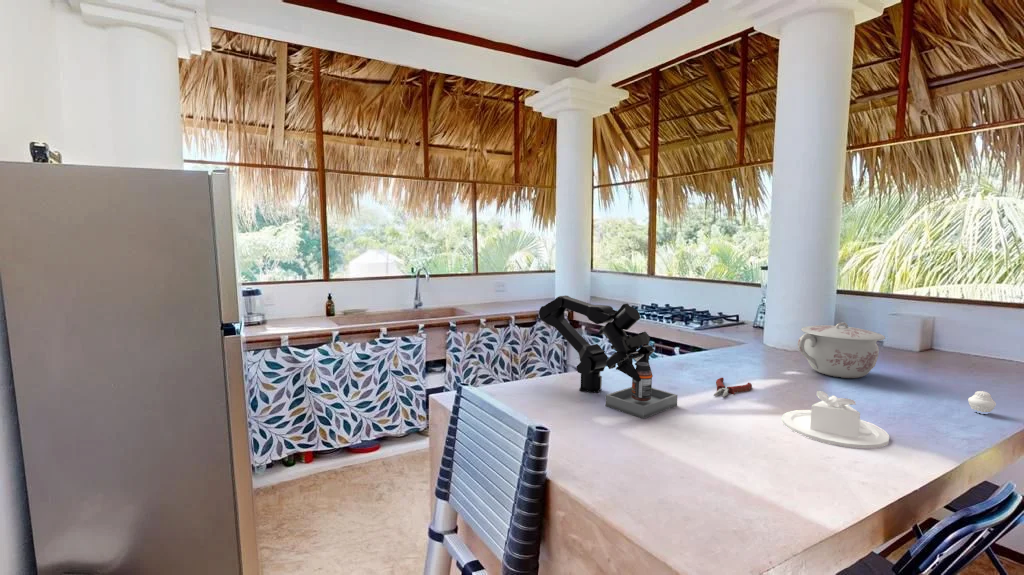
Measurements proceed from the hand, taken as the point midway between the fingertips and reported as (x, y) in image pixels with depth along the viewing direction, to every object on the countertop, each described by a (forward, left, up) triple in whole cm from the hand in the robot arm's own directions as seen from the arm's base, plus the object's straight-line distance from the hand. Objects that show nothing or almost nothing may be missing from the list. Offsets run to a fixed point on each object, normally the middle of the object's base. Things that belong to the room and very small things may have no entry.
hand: (645, 379), depth 149 cm
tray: (-1, +1, -9) cm, 9 cm away
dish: (+51, +1, -9) cm, 52 cm away
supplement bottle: (-1, +1, -7) cm, 7 cm away
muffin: (+98, +33, -9) cm, 104 cm away
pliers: (+25, +29, -10) cm, 39 cm away
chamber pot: (+69, +68, -9) cm, 97 cm away
